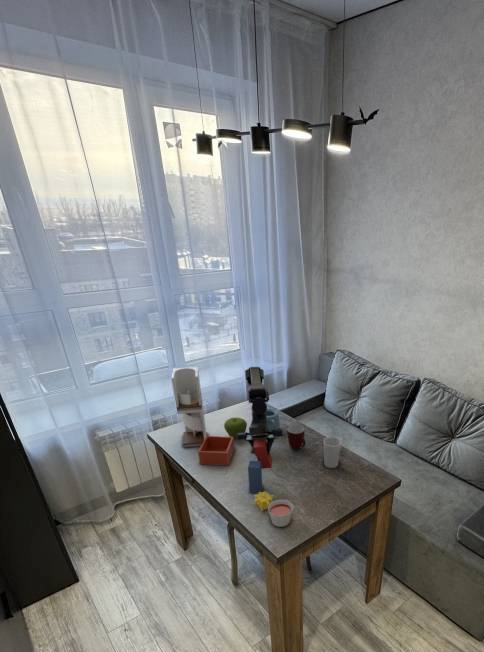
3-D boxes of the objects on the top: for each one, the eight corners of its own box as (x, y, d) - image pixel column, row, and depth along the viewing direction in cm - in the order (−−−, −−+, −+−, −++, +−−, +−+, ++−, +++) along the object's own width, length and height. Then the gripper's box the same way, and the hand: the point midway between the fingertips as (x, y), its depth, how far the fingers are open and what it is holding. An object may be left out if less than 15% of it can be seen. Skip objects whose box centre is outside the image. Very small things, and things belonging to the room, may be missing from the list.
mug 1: (285, 436, 199) (285, 418, 194) (264, 440, 195) (263, 422, 190) (275, 422, 211) (274, 406, 205) (255, 426, 206) (254, 409, 201)
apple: (250, 432, 201) (249, 415, 196) (242, 443, 192) (240, 425, 187) (230, 429, 203) (229, 412, 197) (221, 439, 194) (219, 422, 189)
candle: (283, 532, 142) (283, 519, 139) (263, 522, 146) (263, 509, 143) (297, 518, 148) (298, 505, 145) (278, 509, 152) (278, 496, 149)
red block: (262, 461, 168) (254, 439, 160) (272, 460, 167) (265, 438, 159) (260, 468, 165) (253, 447, 156) (271, 468, 164) (264, 446, 156)
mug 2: (311, 449, 190) (312, 431, 185) (300, 455, 185) (300, 437, 180) (295, 441, 196) (295, 423, 190) (283, 447, 190) (283, 429, 185)
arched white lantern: (184, 435, 196) (173, 368, 178) (206, 433, 198) (197, 367, 181) (183, 447, 186) (171, 378, 169) (206, 445, 189) (197, 376, 171)
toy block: (279, 508, 153) (278, 497, 150) (260, 515, 149) (259, 504, 146) (269, 496, 159) (269, 485, 156) (251, 503, 155) (250, 492, 152)
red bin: (207, 447, 187) (206, 435, 184) (234, 448, 188) (233, 436, 184) (199, 464, 176) (198, 451, 172) (228, 465, 176) (227, 452, 173)
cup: (338, 470, 176) (339, 447, 170) (320, 467, 177) (321, 444, 171) (341, 460, 183) (343, 438, 177) (324, 457, 184) (325, 435, 178)
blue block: (251, 485, 164) (249, 460, 158) (262, 485, 164) (261, 461, 158) (249, 492, 160) (247, 467, 154) (260, 492, 160) (259, 467, 154)
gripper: (230, 418, 154) (233, 458, 154) (277, 413, 152) (280, 454, 152) (239, 420, 165) (242, 457, 165) (283, 416, 163) (286, 453, 163)
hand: (262, 456), depth 161 cm, fingers closed on red block, 4 cm apart
